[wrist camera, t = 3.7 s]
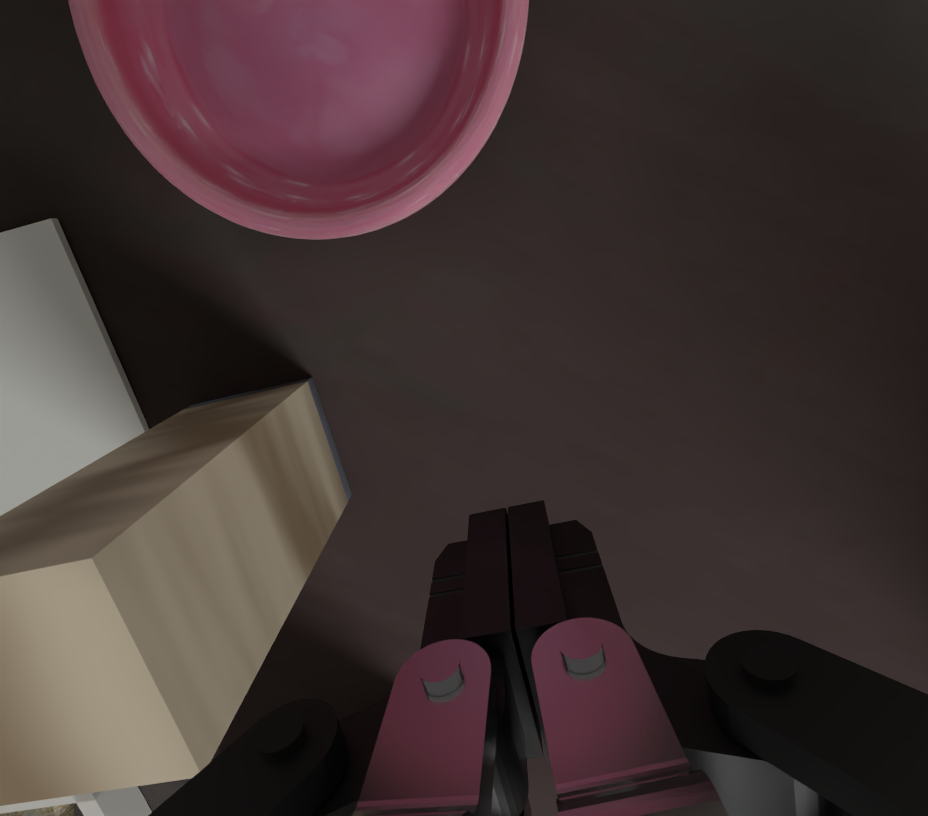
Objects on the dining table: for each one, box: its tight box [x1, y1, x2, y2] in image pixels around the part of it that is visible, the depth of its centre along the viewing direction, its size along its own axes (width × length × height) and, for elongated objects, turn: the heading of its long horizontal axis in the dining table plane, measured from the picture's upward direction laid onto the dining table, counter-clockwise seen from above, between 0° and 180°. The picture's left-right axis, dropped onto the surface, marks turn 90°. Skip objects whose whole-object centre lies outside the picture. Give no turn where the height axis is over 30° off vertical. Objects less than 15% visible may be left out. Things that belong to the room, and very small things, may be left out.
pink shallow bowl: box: [68, 0, 529, 240], centre depth 16 cm, size 12×12×3 cm
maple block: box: [0, 377, 352, 806], centre depth 16 cm, size 5×5×12 cm
